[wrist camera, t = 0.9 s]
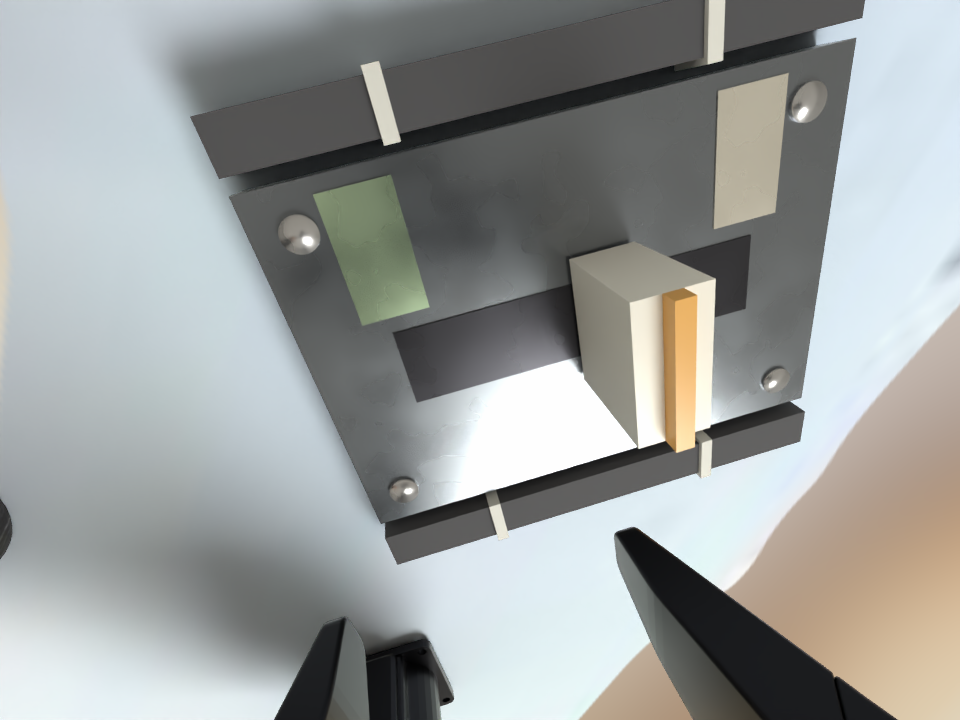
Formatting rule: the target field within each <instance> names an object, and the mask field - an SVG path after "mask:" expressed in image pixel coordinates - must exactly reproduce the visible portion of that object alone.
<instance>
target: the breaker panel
mask: <svg viewBox="0 0 960 720" xmlns="http://www.w3.org/2000/svg"><path fill="white" fill-rule="evenodd" d="M855 43H856V38H852V39H847V40H842V41H837V42H832V43H827V44H821V45H817V46H813V47H809V48H805V49H801V50H797V51H793V52H789V53H785V54H781V55H777V56H773V57H769V58H765V59H761V60H757V61H753V62H749V63H745V64H741V65H737V66H733V67H729V68H726V69H722V70H718V71H714V72H710V73H706V74H702V75H698V76H694V77H690V78H686V79H682V80H678V81H674V82H670V83H666V84H662V85H658V86H654V87H650V88H646V89H642V90H639V91H635V92H631V93H627V94H623V95H619V96H615V97H611V98H607V99H603V100H599V101H595V102H591V103H587V104H583V105H579V106H575V107H571V108H567V109H563V110H559V111H555V112H552V113H548V114H544V115H540V116H536V117H532V118H528V119H524V120H520V121H516V122H512V123H508V124H504V125H500V126H496V127H492V128H488V129H484V130H480V131H476V132H472V133H468V134H465V135H461V136H457V137H453V138H449V139H445V140H441V141H437V142H433V143H429V144H425V145H421V146H417V147H413V148H409V149H405V150H401V151H397V152H393V153H389V154H385V155H381V156H378V157H374V158H370V159H366V160H362V161H358V162H354V163H350V164H346V165H342V166H338V167H334V168H330V169H326V170H322V171H318V172H314V173H310V174H306V175H302V176H298V177H294V178H290V179H287V180H283V181H279V182H275V183H271V184H267V185H263V186H259V187H255V188H251V189H247V190H243V191H241V192H238V193H236V194H234V195H231V196H229V198H230V200H231V202H232V205H233V207H234V209H235V211H236V213H237V215H238V218H239V220H240V222H241V224H242V226H243V228H244V230H245V233H246V235H247V237H248V239H249V241H250V243H251V245H252V248H253V250H254V252H255V254H256V256H257V258H258V261H259V263H260V265H261V267H262V269H263V271H264V273H265V276H266V278H267V280H268V282H269V284H270V286H271V288H272V291H273V293H274V295H275V297H276V299H277V301H278V304H279V306H280V308H281V310H282V312H283V314H284V316H285V319H286V321H287V323H288V325H289V327H290V329H291V331H292V334H293V336H294V338H295V340H296V342H297V344H298V347H299V349H300V351H301V353H302V355H303V357H304V359H305V362H306V364H307V366H308V368H309V370H310V372H311V374H312V377H313V379H314V381H315V383H316V385H317V387H318V390H319V392H320V394H321V396H322V398H323V400H324V402H325V405H326V407H327V409H328V411H329V413H330V415H331V417H332V420H333V422H334V424H335V426H336V428H337V430H338V432H339V435H340V437H341V439H342V441H343V443H344V445H345V448H346V450H347V452H348V454H349V456H350V458H351V460H352V463H353V465H354V467H355V469H356V471H357V473H358V475H359V478H360V480H361V482H362V484H363V486H364V488H365V491H366V493H367V495H368V497H369V499H370V501H371V503H372V506H373V508H374V510H375V512H376V514H377V516H378V518H379V521H380V523H381V524H382V523H386V522H389V521H392V520H396V519H399V518H402V517H406V516H409V515H412V514H416V513H419V512H422V511H426V510H429V509H432V508H436V507H439V506H442V505H446V504H449V503H452V502H456V501H459V500H462V499H466V498H469V497H472V496H476V495H479V494H482V493H486V492H489V491H492V490H496V489H499V488H502V487H506V486H509V485H512V484H516V483H519V482H522V481H526V480H529V479H532V478H536V477H539V476H542V475H546V474H549V473H552V472H556V471H559V470H562V469H566V468H569V467H572V466H576V465H579V464H582V463H586V462H589V461H592V460H596V459H599V458H602V457H606V456H609V455H612V454H616V453H619V452H622V451H626V450H629V449H632V448H636V447H637V446H636V445H635V444H634V442H633V441H632V440H631V438H630V437H629V436H628V435H627V433H626V432H625V431H624V430H623V428H622V427H621V426H620V424H619V423H618V422H617V421H616V419H615V418H614V417H613V415H612V414H611V413H610V412H609V410H608V409H607V408H606V407H605V405H604V404H603V403H602V401H601V400H600V399H599V398H598V396H597V395H596V394H595V393H594V391H593V390H592V389H591V387H590V386H589V385H588V384H587V382H586V381H585V380H584V374H583V366H582V358H581V350H580V342H579V334H578V326H577V318H576V310H575V302H574V294H573V286H572V278H571V270H570V262H569V259H572V258H576V257H579V256H583V255H587V254H590V253H594V252H598V251H601V250H605V249H609V248H612V247H616V246H620V245H623V244H627V243H631V242H637V243H639V244H641V245H643V246H645V247H647V248H650V249H652V250H654V251H656V252H658V253H661V254H663V255H665V256H667V257H669V258H671V259H674V260H676V261H678V262H680V263H682V264H685V265H687V266H689V267H691V268H693V269H696V270H698V271H700V272H702V273H704V274H706V275H709V276H711V277H713V278H715V279H716V286H715V313H714V340H713V368H712V395H711V422H710V425H712V424H716V423H719V422H722V421H726V420H729V419H732V418H736V417H739V416H742V415H746V414H749V413H752V412H755V411H759V410H762V409H765V408H769V407H772V406H775V405H779V404H782V403H785V402H789V401H792V400H795V399H799V398H801V396H802V390H803V383H804V377H805V370H806V364H807V357H808V351H809V344H810V338H811V331H812V324H813V318H814V311H815V305H816V298H817V292H818V285H819V279H820V272H821V266H822V259H823V252H824V246H825V239H826V233H827V226H828V220H829V213H830V207H831V200H832V194H833V187H834V181H835V174H836V167H837V161H838V154H839V148H840V141H841V135H842V128H843V122H844V115H845V109H846V102H847V95H848V89H849V82H850V76H851V69H852V63H853V56H854V50H855Z"/></svg>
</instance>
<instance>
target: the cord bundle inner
mask: <svg viewBox="0 0 960 720" xmlns="http://www.w3.org/2000/svg"><path fill="white" fill-rule="evenodd" d="M804 414H805V411H803V410H802V409H800V408H799V407H797V406H796V405H794V404H793V403H791V402H790V401H789V402H785V403H782V404H779V405H775V406H772V407H769V408H765V409H762V410H759V411H755V412H752V413H749V414H746V415H742V416H739V417H736V418H732V419H729V420H726V421H722V422H719V423H716V424H712V425H710V428H707V429H703V430H700V431H697V432H695V447H694V448H691V449H687V450H684V451H681V452H677V453H676V452H675V451H674V450H673V448H672V447H671V446H670V445H669V444H668V443H667V442H666V441H663V442H660V443H657V444H653V445H650V446H647V447H643V448H640V449H638V447H636V448H632V449H629V450H626V451H622V452H619V453H616V454H612V455H609V456H606V457H602V458H599V459H596V460H592V461H589V462H586V463H582V464H579V465H576V466H572V467H569V468H566V469H562V470H559V471H556V472H552V473H549V474H546V475H542V476H539V477H536V478H532V479H529V480H526V481H522V482H519V483H516V484H512V485H509V486H506V487H502V488H499V489H496V490H492V491H489V492H486V493H482V494H479V495H476V496H472V497H469V498H466V499H462V500H459V501H456V502H452V503H449V504H446V505H442V506H439V507H436V508H432V509H429V510H426V511H422V512H419V513H416V514H412V515H409V516H406V517H402V518H399V519H396V520H392V521H389V522H386V523H385V539H386V541H387V543H388V545H389V547H390V550H391V552H392V554H393V556H394V558H395V560H396V562H397V565H398V564H401V563H405V562H408V561H411V560H414V559H418V558H421V557H424V556H427V555H431V554H434V553H437V552H440V551H444V550H447V549H450V548H454V547H457V546H460V545H463V544H467V543H470V542H473V541H476V540H480V539H483V538H486V537H489V536H493V535H496V534H497V536H498V539H499V540H502V539H505V538H508V537H509V535H508V531H509V530H512V529H516V528H519V527H522V526H525V525H529V524H532V523H535V522H538V521H542V520H545V519H548V518H552V517H555V516H558V515H561V514H565V513H568V512H571V511H574V510H578V509H581V508H584V507H587V506H591V505H594V504H597V503H601V502H604V501H607V500H610V499H614V498H617V497H620V496H623V495H627V494H630V493H633V492H636V491H640V490H643V489H646V488H650V487H653V486H656V485H659V484H663V483H666V482H669V481H672V480H676V479H679V478H682V477H685V476H689V475H692V474H695V473H697V475H698V476H699V477H700V478H704V477H707V476H710V475H711V469H712V468H715V467H718V466H721V465H725V464H728V463H731V462H734V461H738V460H741V459H744V458H748V457H751V456H754V455H757V454H761V453H764V452H767V451H770V450H774V449H777V448H780V447H783V446H787V445H790V444H793V443H797V442H800V439H801V433H802V426H803V420H804Z"/></svg>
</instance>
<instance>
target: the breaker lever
mask: <svg viewBox="0 0 960 720" xmlns="http://www.w3.org/2000/svg"><path fill="white" fill-rule="evenodd" d="M569 262H570V270H571V278H572V286H573V294H574V302H575V310H576V318H577V326H578V334H579V342H580V350H581V358H582V366H583V374H584V380H585V381H586V382H587V384H588V385H589V386H590V387H591V389H592V390H593V391H594V393H595V394H596V395H597V396H598V398H599V399H600V400H601V401H602V403H603V404H604V405H605V407H606V408H607V409H608V410H609V412H610V413H611V414H612V415H613V417H614V418H615V419H616V421H617V422H618V423H619V424H620V426H621V427H622V428H623V430H624V431H625V432H626V433H627V435H628V436H629V437H630V438H631V440H632V441H633V442H634V444H635V445H636V446H637V447H638V449H640V448H643V447H647V446H650V445H653V444H657V443H660V442H663V441H666V442H667V443H668V444H669V445H670V446H671V447H672V448H673V450H674V451H675V452H676V453H677V452H681V451H684V450H687V449H691V448H694V447H695V432H697V431H700V430H703V429H707V428H710V422H711V395H712V368H713V340H714V313H715V286H716V279H715V278H713V277H711V276H709V275H706V274H704V273H702V272H700V271H698V270H696V269H693V268H691V267H689V266H687V265H685V264H682V263H680V262H678V261H676V260H674V259H671V258H669V257H667V256H665V255H663V254H661V253H658V252H656V251H654V250H652V249H650V248H647V247H645V246H643V245H641V244H639V243H637V242H631V243H627V244H623V245H620V246H616V247H612V248H609V249H605V250H601V251H598V252H594V253H590V254H587V255H583V256H579V257H576V258H572V259H569Z"/></svg>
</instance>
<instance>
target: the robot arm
mask: <svg viewBox="0 0 960 720" xmlns="http://www.w3.org/2000/svg"><path fill="white" fill-rule="evenodd" d="M614 541H615V550H616V559H617V564H618V567H619V570H620V572H621V575H622V577H623V579H624V582H625V584H626V586H627V588H628V591H629V593H630V595H631V598H632V600H633V602H634V604H635V607H636V609H637V611H638V613H639V616H640V618H641V620H642V623H643V625H644V627H645V629H646V632H647V634H648V636H649V639H650V641H651V643H652V645H653V647H654V649H655V651H656V654H657V656H658V658H659V659H660V661H661V663H662V665H663V667H664V669H665V671H666V672H667V674H668V676H669V678H670V679H671V681H672V683H673V685H674V686H675V688H676V690H677V692H678V694H679V696H680V697H681V699H682V701H683V703H684V704H685V706H686V708H687V710H688V711H689V713H690V715H691V717H692V718H693V720H897V719H896V718H894V717H893V716H891V715H890V714H889V713H887V712H886V711H885V710H883V709H882V708H880V707H879V706H878V705H876V704H875V703H873V702H872V701H871V700H869V699H867V698H866V697H865V696H864V695H862V694H861V693H860V692H858V691H857V690H856V689H854V688H853V687H852V686H850V685H849V684H847V683H846V682H845V681H844V680H842V679H841V678H839V677H834V676H833V673H832V672H831V671H829V670H828V669H827V668H826V667H824V666H823V665H821V664H820V663H819V662H818V661H816V660H815V659H813V658H812V657H811V656H809V655H808V654H807V653H805V652H804V651H803V650H801V649H800V648H799V647H797V646H796V645H795V644H793V643H792V642H790V641H789V640H788V639H786V638H785V637H784V636H782V635H781V634H780V633H778V632H777V631H776V630H774V629H773V628H771V627H770V626H769V625H768V624H766V623H765V622H764V621H762V620H761V619H759V618H758V617H757V616H755V615H754V614H752V613H751V612H750V611H749V610H747V609H746V608H745V607H743V606H742V605H740V604H739V603H738V602H736V601H735V600H734V599H732V598H731V597H730V596H728V595H727V594H726V593H724V592H723V591H722V590H720V589H719V588H718V587H716V586H715V585H714V584H712V583H711V582H709V581H708V580H707V579H705V578H704V577H703V576H701V575H700V574H699V573H697V572H696V571H695V570H693V569H692V568H691V567H689V566H688V565H686V564H685V563H684V562H682V561H681V560H680V559H678V558H677V557H676V556H674V555H673V554H672V553H670V552H669V551H668V550H666V549H665V548H663V547H662V546H661V545H659V544H658V543H657V542H655V541H654V540H653V539H651V538H650V537H649V536H647V535H646V534H645V533H643V532H642V531H641V530H639V529H638V528H635V527H630V528H627V529H623V530H620V531H617V532H616V533H615V535H614ZM453 700H454V695H453V690H452V687H451V685H450V683H449V681H448V679H447V677H446V675H445V673H444V671H443V669H442V666H441V664H440V662H439V660H438V658H437V656H436V654H435V652H434V650H433V648H432V645H431V643H430V642H429V641H427V640H419V641H416V642H413V643H410V644H407V645H403V646H400V647H397V648H394V649H391V650H388V651H384V652H381V653H378V654H375V655H372V656H369V657H365V648H364V644H363V641H362V639H361V638H360V636H359V634H358V633H357V631H356V629H355V628H354V626H353V624H352V623H351V621H350V620H349V618H347V617H341V618H338V619H335V620H332V621H329V622H327V623H325V624H324V625H323V626H322V628H321V630H320V632H319V634H318V636H317V637H316V639H315V641H314V643H313V645H312V647H311V649H310V651H309V653H308V655H307V657H306V659H305V661H304V663H303V665H302V667H301V668H300V670H299V672H298V674H297V676H296V678H295V680H294V682H293V684H292V686H291V688H290V690H289V692H288V694H287V696H286V697H285V699H284V701H283V703H282V705H281V707H280V709H279V711H278V713H277V715H276V717H275V719H274V720H441V711H440V706H443V705H446V704H449V703H451V702H452V701H453Z"/></svg>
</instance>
